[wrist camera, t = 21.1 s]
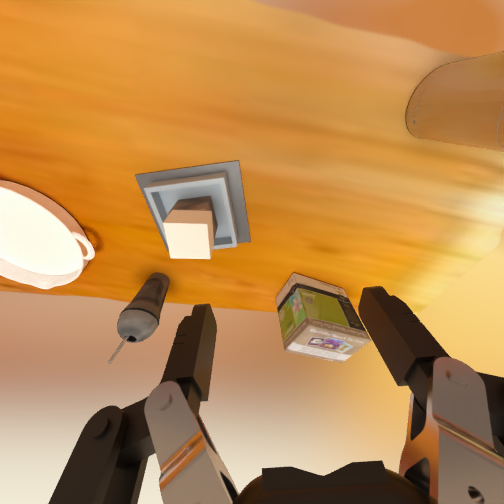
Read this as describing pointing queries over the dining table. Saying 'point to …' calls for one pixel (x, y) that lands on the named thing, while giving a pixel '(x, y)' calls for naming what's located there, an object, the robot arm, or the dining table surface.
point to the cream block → (189, 234)
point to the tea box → (319, 320)
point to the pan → (39, 239)
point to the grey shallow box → (199, 185)
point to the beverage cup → (142, 312)
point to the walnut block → (198, 207)
